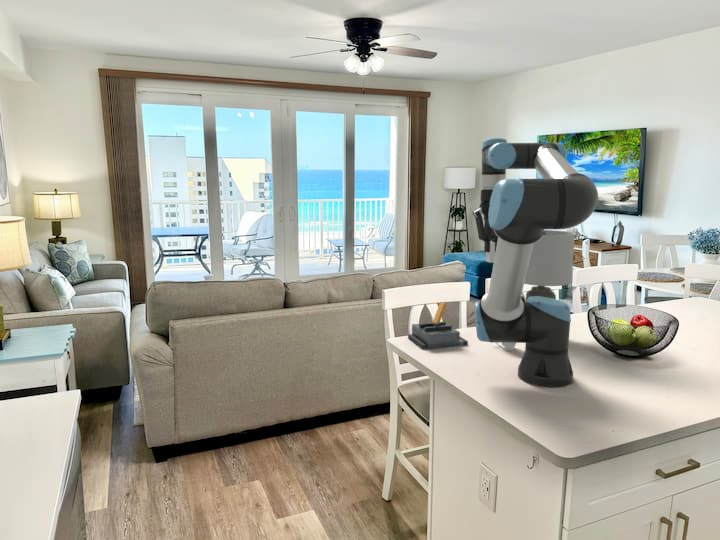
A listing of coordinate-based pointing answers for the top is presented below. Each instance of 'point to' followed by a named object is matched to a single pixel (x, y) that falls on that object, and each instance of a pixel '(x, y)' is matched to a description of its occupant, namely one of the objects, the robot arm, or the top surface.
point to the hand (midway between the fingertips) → (490, 261)
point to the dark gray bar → (417, 341)
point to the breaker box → (436, 335)
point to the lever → (439, 314)
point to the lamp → (550, 263)
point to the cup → (507, 345)
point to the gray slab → (463, 342)
